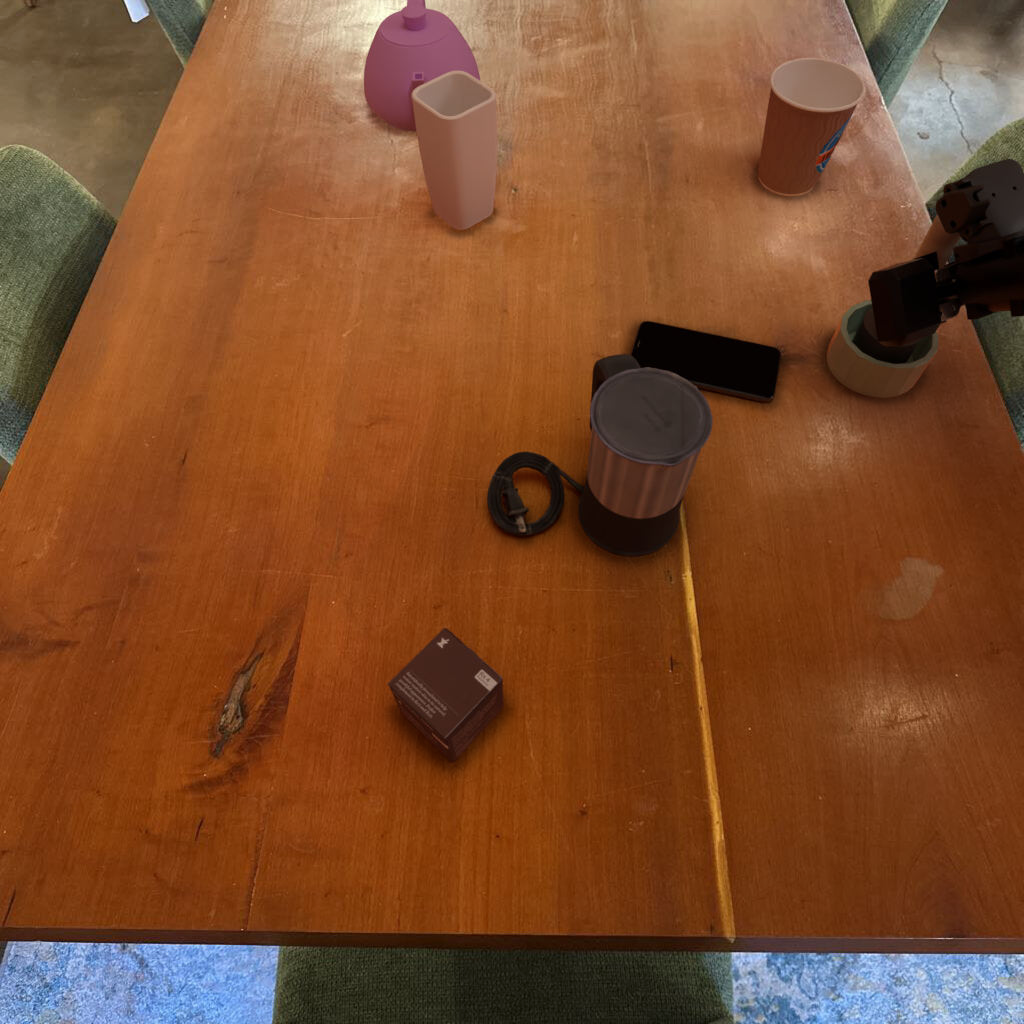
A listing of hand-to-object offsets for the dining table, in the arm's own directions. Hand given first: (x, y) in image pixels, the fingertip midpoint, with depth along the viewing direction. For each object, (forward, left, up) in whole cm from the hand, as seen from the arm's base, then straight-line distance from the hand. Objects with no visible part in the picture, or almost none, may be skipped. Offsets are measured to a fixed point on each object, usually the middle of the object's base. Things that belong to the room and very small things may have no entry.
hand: (900, 287), depth 71 cm
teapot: (+61, -29, -9) cm, 68 cm away
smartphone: (+16, +6, -9) cm, 19 cm away
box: (+28, +48, -9) cm, 56 cm away
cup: (+48, -9, -9) cm, 49 cm away
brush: (-1, +1, -8) cm, 8 cm away
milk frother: (+23, +27, -9) cm, 37 cm away
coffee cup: (+12, -27, -9) cm, 31 cm away
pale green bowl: (-1, +1, -9) cm, 9 cm away
